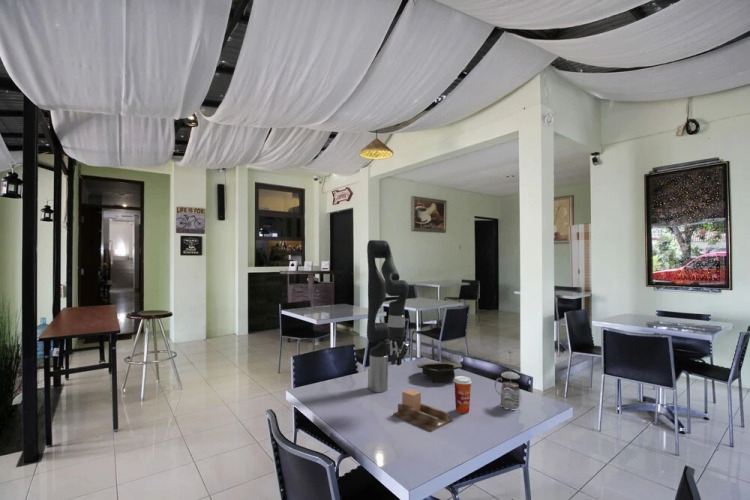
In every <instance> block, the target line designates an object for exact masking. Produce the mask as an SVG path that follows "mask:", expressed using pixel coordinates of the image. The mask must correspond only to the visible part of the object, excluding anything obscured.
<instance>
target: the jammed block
mask: <svg viewBox="0 0 750 500" xmlns="http://www.w3.org/2000/svg"><path fill="white" fill-rule="evenodd" d="M401 393H402V396H401V398H402V399H401V400H402V401H401V404H402V405H405V406H408V407H410V408H413V409H416V410H418V411H421V401H422V400H421V398H422V393H421V392H420V391H417V390H414V389H412V388H409V389H406V390H402V392H401Z"/></svg>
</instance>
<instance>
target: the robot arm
mask: <svg viewBox="0 0 750 500" xmlns="http://www.w3.org/2000/svg"><path fill="white" fill-rule="evenodd" d="M366 245H367V246H366V254H367V270H368V271H367V273H368V274H367V275H368V276H367V279H368V280H367V305H368V306H367V324H366V336H367V340H368V342H369V343H370V342H371V343H376V342H379V343H378V344H377V345H375V346H373V347H371V348H370V349H369V368H368V370H367V373H368V374H367V389H369V391H371V392H374V393H384V392H386V391H388V387H389V386H388V385H389V384H388V383H389V381H388V379H389V376H388V375H389V355H390V364H392V365H395V364H396V366H401V365H402V364H403V363H402V361H403V359H402V358H403V357H404V356H405V357H406V354H407V353H408V350H409V349H410V348H409V347H410V344H409V343H406V342H405V335H406V318H405V313H406V312H405V308H406V307H405V306H406V301H407V298H408V294H409V289H410V287H409V286H410V285H409V283H408V282H407V281H406V279H405V280H403V279H401V280H400V274H399V272H398V270H397V268H396V265H395V262H394V258H393V254H392V249H391V246H390V244H389V242H388V241H387V240H381V239H379V240H378V239H377V240H376V239H375V240H374V239H370V240H368V241H367V244H366ZM376 259H384V261H383V263H382V264H381V272H380V271H379V269H378V267H377V263H376ZM381 274H382V275H381ZM387 295H388V296H389V297H397V299H396V300H394V301H393V300H392V301H390V302H389V303H388V319H387V322H376V319H377V314H378V313H379V310H380V309H381V307H382V306H383V304H384V302H385V301H386V298H387Z"/></svg>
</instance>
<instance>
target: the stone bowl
mask: <svg viewBox="0 0 750 500" xmlns="http://www.w3.org/2000/svg"><path fill="white" fill-rule="evenodd" d="M416 366H417V368H419V369H421V371H422V374H423V375H425V377H428V378H430V379H431V382H432V383H434V384H435V383H437V384H439V383H444V382H445V383H446V382H447V383H448V382H449V381H450V380H454V379H455V377H456V374H455V370H459V369H460V368H462V367H463V366H462V365H459V364H456V363H452V362H445V361H444V362H438V361H437V362H430V361H429V362H422V363H417V364H416Z"/></svg>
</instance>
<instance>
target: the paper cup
mask: <svg viewBox="0 0 750 500" xmlns="http://www.w3.org/2000/svg"><path fill="white" fill-rule="evenodd" d="M453 382H454V398H455V399H454V400H455V411H456V413H459V414H468V413H469V412H470V407H471V406H470V405H471V404H470V403H471V389H472V388H471V387H472V379H471V378H470V377H468V376H463V375H460V376H459V375H458V376H455V377H454V379H453Z"/></svg>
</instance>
